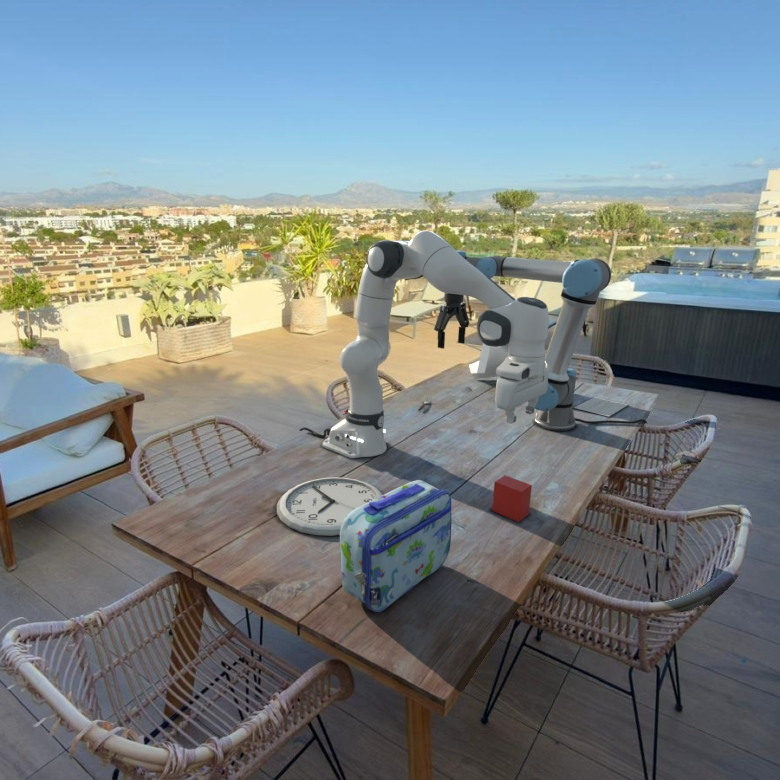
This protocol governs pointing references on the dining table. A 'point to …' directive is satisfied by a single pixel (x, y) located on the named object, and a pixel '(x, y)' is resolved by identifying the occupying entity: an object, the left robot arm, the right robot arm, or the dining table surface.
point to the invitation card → (601, 406)
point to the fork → (425, 403)
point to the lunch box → (394, 543)
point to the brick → (511, 498)
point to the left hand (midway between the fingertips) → (520, 417)
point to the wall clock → (323, 504)
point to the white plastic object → (489, 361)
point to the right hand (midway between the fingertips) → (451, 345)
